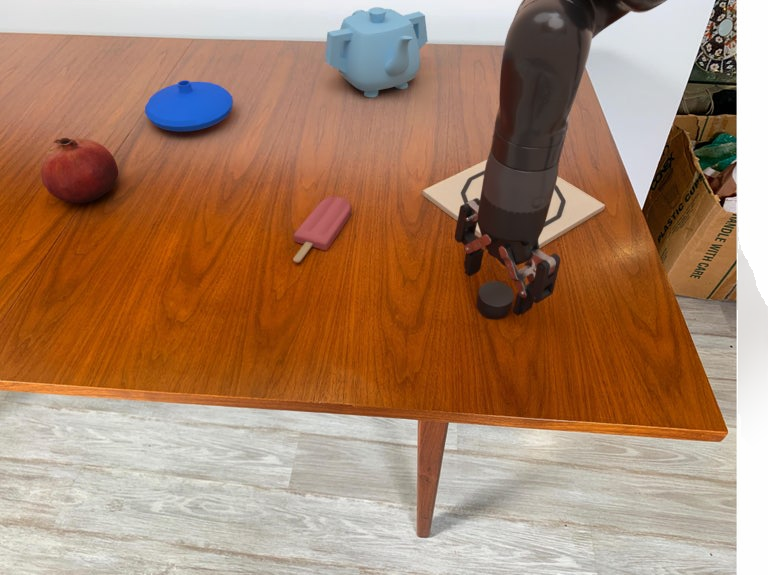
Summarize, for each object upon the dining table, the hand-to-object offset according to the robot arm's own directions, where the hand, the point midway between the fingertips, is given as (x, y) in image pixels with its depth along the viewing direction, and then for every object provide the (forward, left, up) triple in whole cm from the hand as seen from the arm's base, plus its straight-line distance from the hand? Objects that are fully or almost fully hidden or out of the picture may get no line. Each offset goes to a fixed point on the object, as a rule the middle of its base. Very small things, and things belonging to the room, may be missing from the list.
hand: (495, 291), depth 74 cm
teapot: (+57, -25, -3) cm, 62 cm away
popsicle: (+26, +10, -3) cm, 28 cm away
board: (+14, -18, -3) cm, 23 cm away
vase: (+68, +11, -3) cm, 69 cm away
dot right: (0, 0, -3) cm, 3 cm away
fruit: (+56, +34, -3) cm, 65 cm away
